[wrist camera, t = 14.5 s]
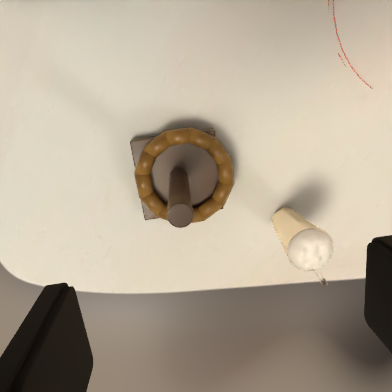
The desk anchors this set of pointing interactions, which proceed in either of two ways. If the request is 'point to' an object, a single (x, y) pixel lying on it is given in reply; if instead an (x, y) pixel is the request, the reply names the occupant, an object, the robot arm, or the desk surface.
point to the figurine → (340, 43)
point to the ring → (178, 138)
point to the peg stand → (180, 178)
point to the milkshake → (303, 241)
